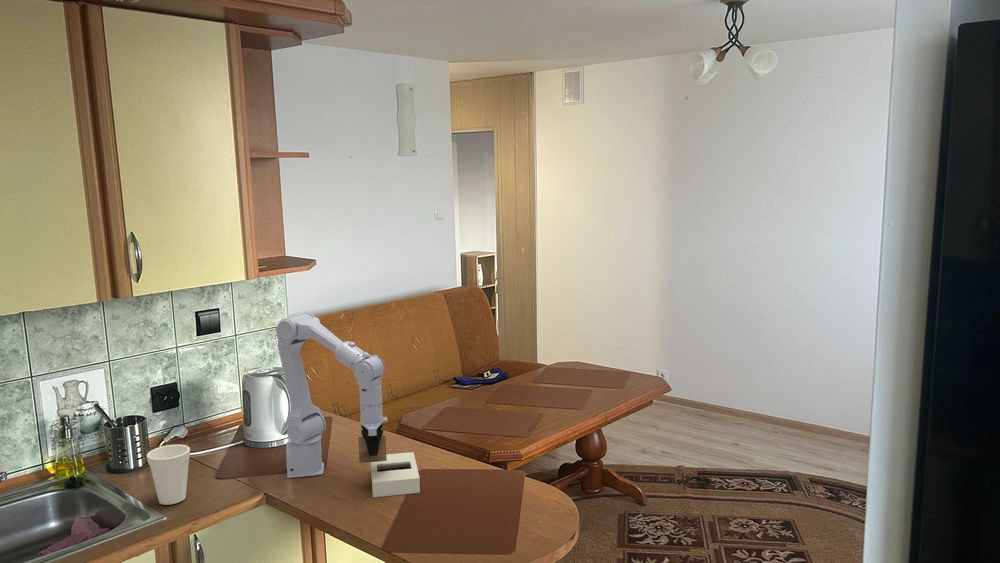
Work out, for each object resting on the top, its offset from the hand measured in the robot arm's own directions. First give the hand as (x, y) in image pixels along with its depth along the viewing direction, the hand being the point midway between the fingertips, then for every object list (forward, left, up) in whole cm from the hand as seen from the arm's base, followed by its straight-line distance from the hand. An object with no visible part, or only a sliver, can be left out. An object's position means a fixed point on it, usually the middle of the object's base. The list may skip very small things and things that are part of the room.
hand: (373, 452), depth 185 cm
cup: (-51, +3, -9) cm, 52 cm away
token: (0, 0, -2) cm, 2 cm away
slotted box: (+5, +2, -9) cm, 11 cm away
